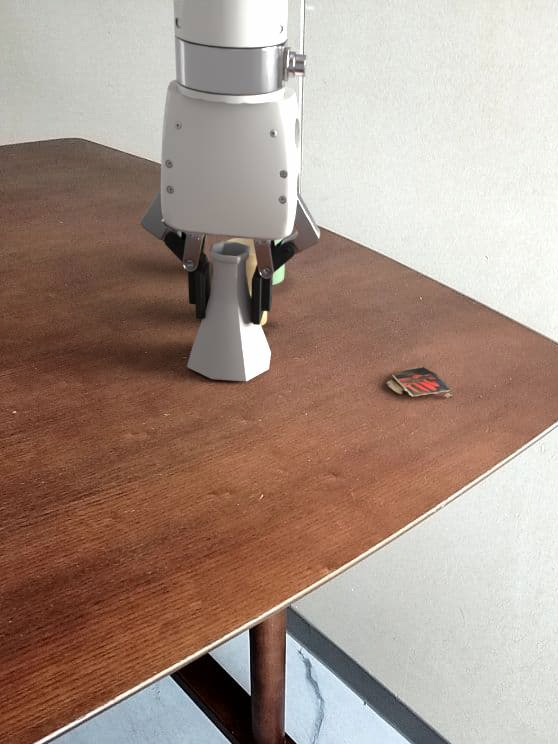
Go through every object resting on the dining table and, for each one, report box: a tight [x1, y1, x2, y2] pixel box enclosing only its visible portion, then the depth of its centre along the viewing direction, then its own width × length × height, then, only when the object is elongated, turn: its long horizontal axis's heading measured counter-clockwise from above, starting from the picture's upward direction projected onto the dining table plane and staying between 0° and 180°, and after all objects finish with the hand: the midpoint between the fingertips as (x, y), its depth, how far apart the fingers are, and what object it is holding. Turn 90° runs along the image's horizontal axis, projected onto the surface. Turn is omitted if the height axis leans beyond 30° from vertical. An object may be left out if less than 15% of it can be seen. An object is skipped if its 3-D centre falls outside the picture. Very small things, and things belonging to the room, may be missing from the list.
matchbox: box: [386, 365, 457, 398], centre depth 72 cm, size 5×5×1 cm
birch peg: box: [227, 237, 268, 327], centre depth 78 cm, size 4×4×7 cm
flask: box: [186, 240, 272, 382], centre depth 71 cm, size 7×7×10 cm
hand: (230, 312), depth 71 cm, fingers open, 3 cm apart
